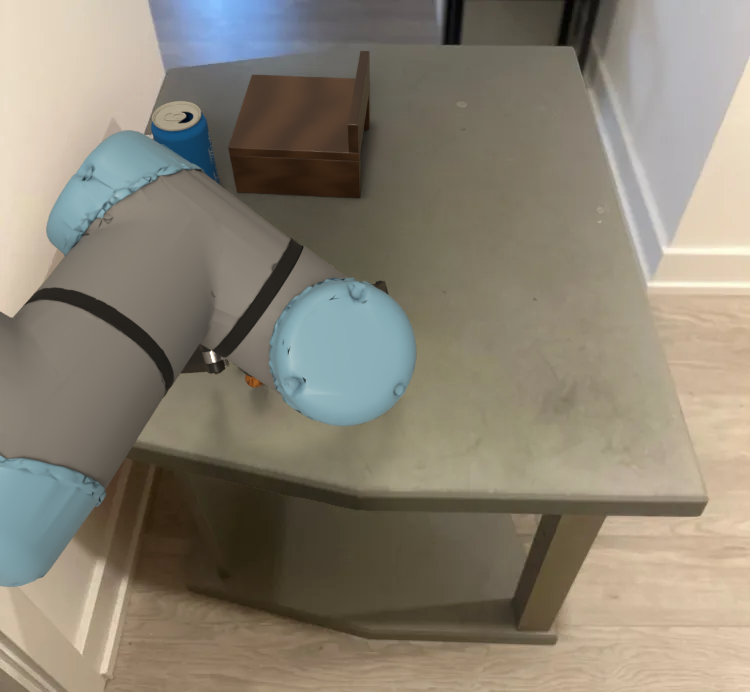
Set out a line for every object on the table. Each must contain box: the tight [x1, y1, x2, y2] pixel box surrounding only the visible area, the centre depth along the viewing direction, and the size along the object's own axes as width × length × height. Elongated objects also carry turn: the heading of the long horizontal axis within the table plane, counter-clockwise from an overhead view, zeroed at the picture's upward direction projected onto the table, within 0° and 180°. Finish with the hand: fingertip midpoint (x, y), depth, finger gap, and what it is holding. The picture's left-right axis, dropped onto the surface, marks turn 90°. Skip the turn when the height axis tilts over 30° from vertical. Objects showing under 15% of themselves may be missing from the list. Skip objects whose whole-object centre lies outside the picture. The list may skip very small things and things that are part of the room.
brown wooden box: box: [227, 50, 371, 199], centre depth 96 cm, size 16×16×11 cm
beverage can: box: [150, 100, 221, 185], centre depth 90 cm, size 6×6×12 cm
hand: (269, 321), depth 72 cm, fingers open, 13 cm apart
